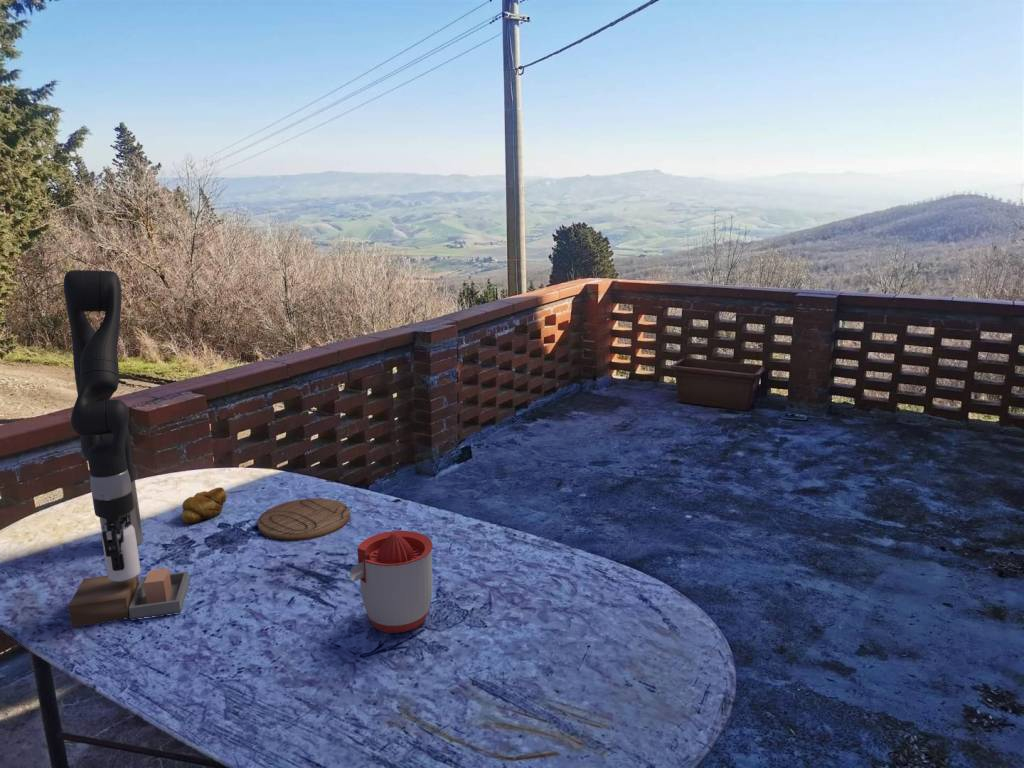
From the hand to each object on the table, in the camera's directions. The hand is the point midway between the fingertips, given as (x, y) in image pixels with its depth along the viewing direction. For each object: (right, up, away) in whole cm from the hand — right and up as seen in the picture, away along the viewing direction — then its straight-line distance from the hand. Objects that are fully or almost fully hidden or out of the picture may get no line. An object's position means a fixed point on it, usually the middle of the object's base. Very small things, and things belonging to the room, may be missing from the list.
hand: (122, 561), depth 161 cm
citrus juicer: (+60, -12, -4) cm, 62 cm away
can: (0, -3, +1) cm, 3 cm away
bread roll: (-3, +1, +49) cm, 49 cm away
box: (+7, -10, +4) cm, 13 cm away
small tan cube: (+5, -7, +2) cm, 8 cm away
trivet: (+27, 0, +45) cm, 53 cm away
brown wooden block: (-4, -11, +1) cm, 11 cm away
